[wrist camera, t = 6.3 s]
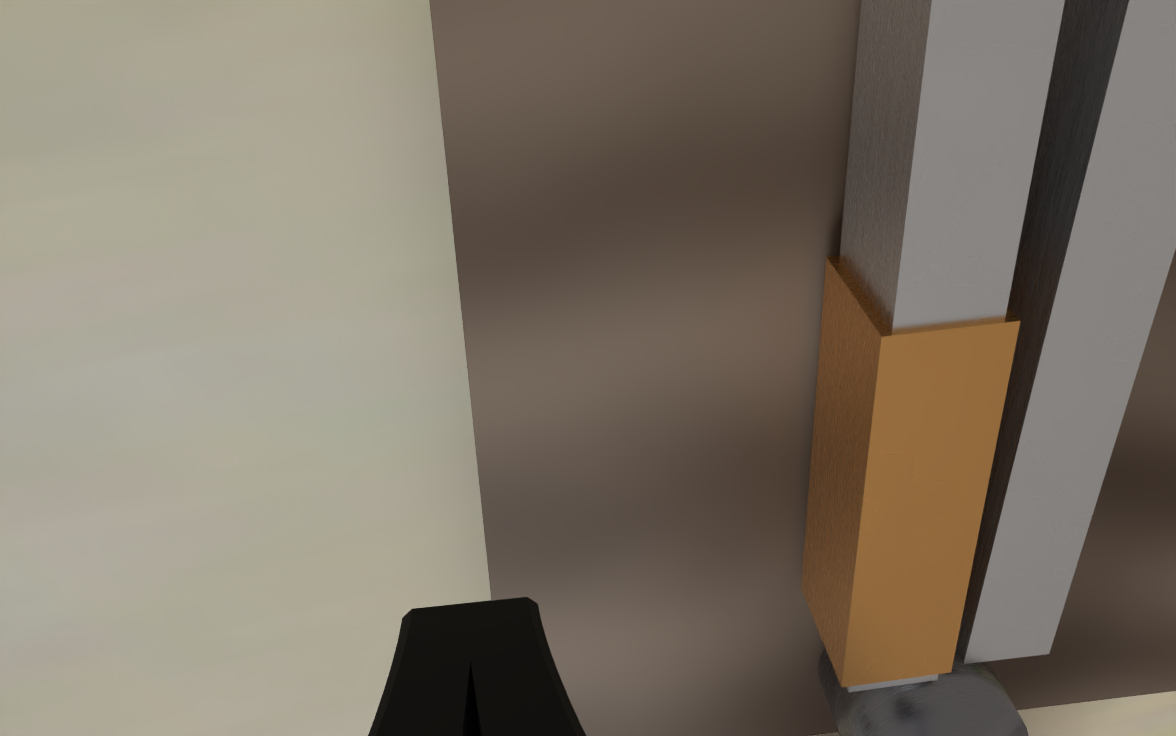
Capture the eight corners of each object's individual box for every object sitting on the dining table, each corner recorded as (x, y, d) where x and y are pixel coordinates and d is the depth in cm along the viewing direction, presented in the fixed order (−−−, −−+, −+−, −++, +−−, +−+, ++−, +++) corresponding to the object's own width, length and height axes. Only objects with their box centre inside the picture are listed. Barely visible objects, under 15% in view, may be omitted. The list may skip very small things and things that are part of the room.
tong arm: (957, 694, 25) (1012, 801, 23) (790, 718, 25) (829, 828, 23) (1296, -949, 11) (1536, -1126, 9) (917, -940, 11) (1058, -1120, 8)
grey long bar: (998, 567, 23) (1053, 653, 21) (911, 576, 23) (958, 664, 21) (1383, -931, 11) (1597, -1069, 9) (1209, -935, 11) (1386, -1077, 9)
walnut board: (1184, 650, 28) (1212, 686, 27) (506, 730, 26) (509, 771, 25) (1853, -966, 13) (1975, -1021, 12) (328, -1011, 11) (318, -1080, 10)
